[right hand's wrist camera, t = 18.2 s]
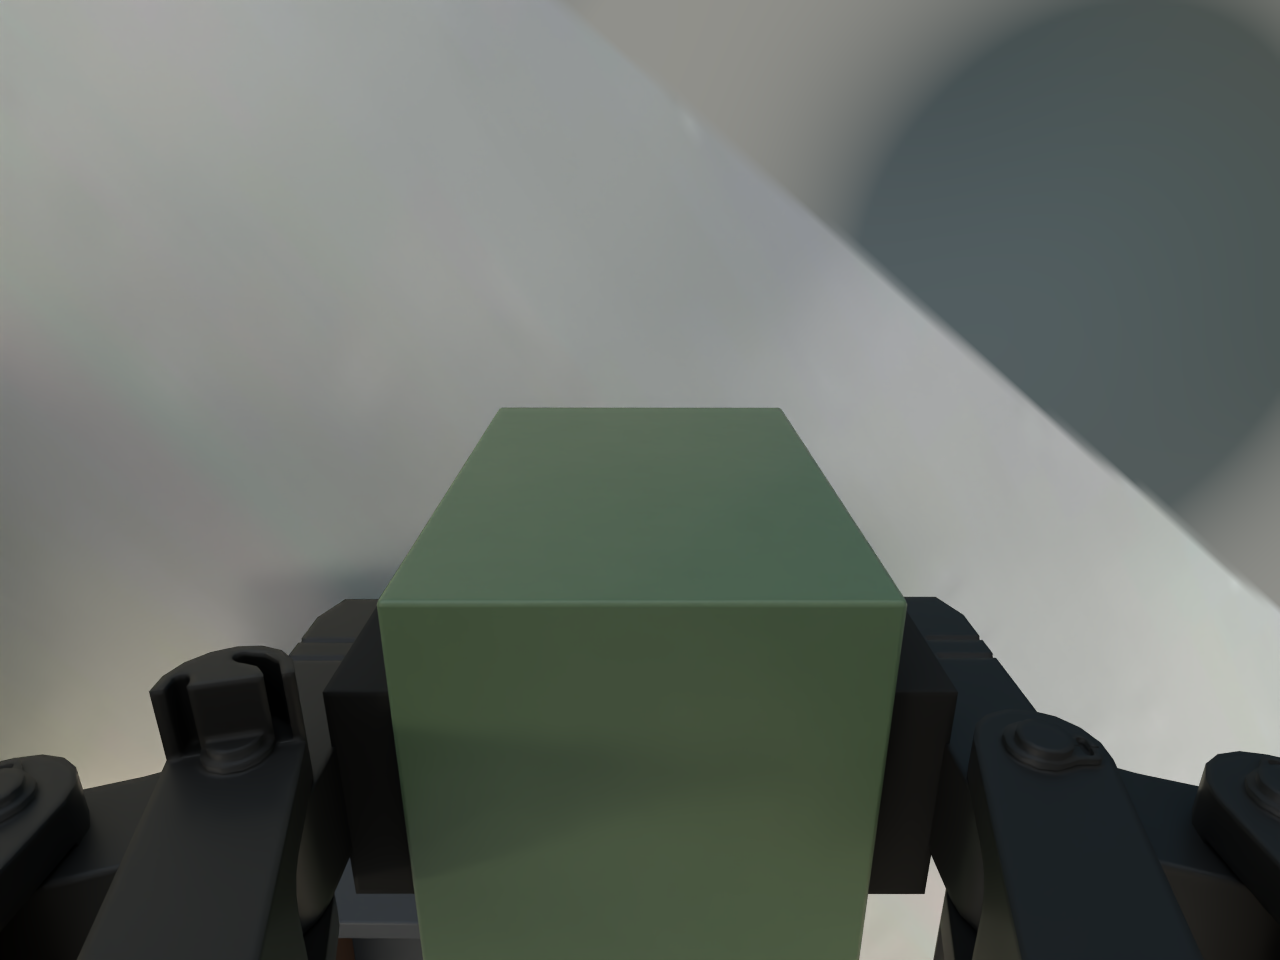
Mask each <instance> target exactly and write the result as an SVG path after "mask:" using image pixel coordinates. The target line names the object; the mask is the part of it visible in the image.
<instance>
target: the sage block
mask: <svg viewBox="0 0 1280 960" xmlns="http://www.w3.org/2000/svg"><path fill="white" fill-rule="evenodd" d="M377 610H378V618H379V625H380V633H381V641H382V648H383V656H384V664H385V671H386V679H387V687H388V694H389V702H390V710H391V717H392V725H393V733H394V740H395V748H396V755H397V763H398V771H399V778H400V786H401V794H402V801H403V809H404V817H405V824H406V832H407V840H408V847H409V855H410V863H411V870H412V878H413V886H414V893H415V901H416V909H417V916H418V924H419V932H420V939H421V947H422V955H423V960H859V956H860V949H861V941H862V934H863V927H864V919H865V912H866V905H867V897H868V890H869V882H870V875H871V868H872V860H873V853H874V846H875V838H876V831H877V824H878V816H879V809H880V802H881V794H882V787H883V779H884V772H885V765H886V757H887V750H888V743H889V735H890V728H891V721H892V713H893V706H894V698H895V691H896V684H897V676H898V669H899V662H900V654H901V647H902V640H903V632H904V625H905V618H906V610H907V603H906V600H905V598H904V597H903V595H902V594H901V592H900V591H899V589H898V588H897V586H896V585H895V583H894V582H893V580H892V578H891V577H890V575H889V574H888V572H887V571H886V569H885V568H884V566H883V565H882V563H881V562H880V560H879V559H878V557H877V555H876V554H875V552H874V551H873V549H872V548H871V546H870V545H869V543H868V542H867V540H866V539H865V537H864V535H863V534H862V532H861V531H860V529H859V528H858V526H857V525H856V523H855V522H854V520H853V519H852V517H851V516H850V514H849V512H848V511H847V509H846V508H845V506H844V505H843V503H842V502H841V500H840V499H839V497H838V496H837V494H836V493H835V491H834V489H833V488H832V486H831V485H830V483H829V482H828V480H827V479H826V477H825V476H824V474H823V473H822V471H821V470H820V468H819V466H818V465H817V463H816V462H815V460H814V459H813V457H812V456H811V454H810V453H809V451H808V450H807V448H806V447H805V445H804V443H803V442H802V440H801V439H800V437H799V436H798V434H797V433H796V431H795V430H794V428H793V427H792V425H791V423H790V422H789V420H788V419H787V417H786V416H785V414H784V413H783V411H782V410H781V409H780V408H500V409H499V410H498V412H497V414H496V415H495V417H494V418H493V420H492V422H491V423H490V425H489V426H488V428H487V429H486V431H485V433H484V434H483V436H482V437H481V439H480V440H479V442H478V444H477V445H476V447H475V448H474V450H473V452H472V453H471V455H470V456H469V458H468V459H467V461H466V463H465V464H464V466H463V467H462V469H461V470H460V472H459V474H458V475H457V477H456V478H455V480H454V482H453V483H452V485H451V486H450V488H449V489H448V491H447V493H446V494H445V496H444V497H443V499H442V500H441V502H440V504H439V505H438V507H437V508H436V510H435V512H434V513H433V515H432V516H431V518H430V519H429V521H428V523H427V524H426V526H425V527H424V529H423V530H422V532H421V534H420V535H419V537H418V538H417V540H416V542H415V543H414V545H413V546H412V548H411V549H410V551H409V553H408V554H407V556H406V557H405V559H404V560H403V562H402V564H401V565H400V567H399V568H398V570H397V571H396V573H395V575H394V576H393V578H392V579H391V581H390V583H389V584H388V586H387V587H386V589H385V590H384V592H383V594H382V595H381V597H380V598H379V600H378V603H377Z"/></svg>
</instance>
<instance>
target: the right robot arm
mask: <svg viewBox="0 0 1280 960" xmlns="http://www.w3.org/2000/svg"><path fill="white" fill-rule="evenodd" d="M904 598H905V600H906V603H907V610H906V618H905V625H904V632H903V640H902V647H901V654H900V662H899V669H898V676H897V684H896V691H895V698H894V706H893V713H892V721H891V728H890V735H889V743H888V750H887V757H886V765H885V772H884V779H883V787H882V794H881V802H880V809H879V816H878V824H877V831H876V838H875V846H874V853H873V860H872V868H871V875H870V882H869V890H868V894H925V888H926V882H927V876H928V870H929V864H930V858H931V855H932V858H933V860H934V862H935V864H936V867H937V869H938V871H939V874H940V876H941V878H942V880H943V883H944V885H945V887H946V892H945V898H944V903H943V909H942V914H941V920H940V925H939V931H938V937H937V942H936V948H935V953H934V959H933V960H1280V757H1275V756H1271V755H1266V754H1258V753H1250V752H1242V751H1237V752H1230V753H1223V754H1217V755H1216V756H1215V757H1214V758H1212V759H1211V760H1210V761H1209V762H1207V763H1206V765H1205V768H1204V771H1203V775H1202V778H1201V781H1200V784H1199V786H1194V785H1190V784H1185V783H1180V782H1175V781H1171V780H1166V779H1161V778H1156V777H1151V776H1147V775H1142V774H1137V773H1133V772H1130V771H1126V770H1122V769H1119V768H1117V766H1116V764H1115V762H1114V760H1113V758H1112V757H1111V756H1110V754H1109V753H1108V752H1107V750H1106V749H1105V748H1104V746H1103V745H1102V744H1101V743H1100V742H1099V741H1098V740H1096V739H1095V738H1094V737H1092V736H1091V735H1090V734H1088V733H1087V732H1085V731H1084V730H1083V729H1081V728H1080V727H1078V726H1075V725H1073V724H1071V723H1069V722H1067V721H1064V720H1062V719H1060V718H1058V717H1056V716H1052V715H1047V714H1043V713H1039V712H1037V711H1036V710H1035V709H1034V707H1033V706H1032V705H1031V703H1030V702H1029V701H1028V699H1027V698H1026V697H1025V695H1024V694H1023V693H1022V691H1021V690H1020V689H1019V688H1018V686H1017V685H1016V684H1015V682H1014V681H1013V680H1012V678H1011V677H1010V676H1009V674H1008V673H1007V672H1006V670H1005V669H1004V668H1003V666H1002V665H1001V664H1000V663H999V661H998V660H997V659H996V658H993V653H992V652H991V651H990V649H989V648H988V647H987V645H986V644H985V643H984V641H983V640H980V639H979V635H978V634H977V632H976V631H975V630H974V628H973V627H972V626H971V624H970V623H969V622H968V620H967V619H966V618H965V616H964V615H963V614H961V613H960V612H958V611H956V610H955V609H953V608H952V607H950V606H949V605H947V604H946V603H944V602H943V601H941V600H939V599H938V598H936V597H904ZM378 600H379V599H345V600H344V601H342V602H341V603H339V604H338V605H336V606H334V607H333V608H331V609H330V610H328V611H327V612H325V613H324V614H322V615H321V616H319V617H318V618H317V619H316V620H315V622H314V623H313V624H312V626H311V627H310V628H309V630H308V631H307V632H306V633H305V635H304V636H303V637H302V642H301V643H298V644H297V645H296V647H295V648H294V649H293V651H292V652H291V653H290V655H289V656H288V655H287V654H286V653H284V652H283V651H282V650H279V649H274V648H270V647H265V646H238V647H233V648H228V649H223V650H219V651H214V652H210V653H207V654H205V655H202V656H200V657H197V658H195V659H192V660H190V661H187V662H184V663H183V664H181V665H180V666H178V667H176V668H175V669H173V670H172V671H170V672H169V673H167V674H165V675H164V676H162V678H161V679H160V680H159V681H158V682H157V683H156V684H155V685H154V687H153V688H152V689H151V690H150V691H149V693H150V697H151V701H152V705H153V709H154V713H155V717H156V720H157V724H158V728H159V732H160V736H161V740H162V744H163V748H164V751H165V755H166V759H167V761H166V763H165V766H164V768H163V770H162V772H160V773H156V774H152V775H149V776H145V777H141V778H136V779H131V780H126V781H122V782H117V783H112V784H107V785H103V786H98V787H93V788H88V789H84V790H83V789H82V785H81V782H80V779H79V776H78V772H77V769H76V767H75V766H74V765H73V764H71V763H70V762H69V761H68V760H66V759H65V758H63V757H56V756H49V755H35V756H27V757H19V758H13V759H9V760H4V761H0V960H336V953H337V945H338V936H339V928H340V923H339V916H338V909H337V903H336V898H335V890H336V888H337V886H338V883H339V881H340V879H341V877H342V874H343V872H344V870H345V867H346V865H347V863H348V860H349V858H350V861H351V867H352V873H353V879H354V885H355V891H356V894H415V893H414V886H413V878H412V870H411V863H410V855H409V847H408V840H407V832H406V824H405V817H404V809H403V801H402V794H401V786H400V778H399V771H398V763H397V755H396V748H395V740H394V733H393V725H392V717H391V710H390V702H389V694H388V687H387V679H386V671H385V664H384V656H383V648H382V641H381V633H380V625H379V618H378V610H377V603H378Z"/></svg>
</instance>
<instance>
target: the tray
mask: <svg viewBox="0 0 1280 960" xmlns="http://www.w3.org/2000/svg"><path fill="white" fill-rule="evenodd" d="M335 898H336V903H337V909H338V916H339V923H340V928H339V936H338V938H352V941H353V948H354V955H355V960H423V955H422V947H421V939H420V932H419V924H418V916H417V909H416V901H415V894H356V891H355V885H354V879H353V873H352V867H351V861H350V858H349V860H348V863H347V865H346V867H345V870H344V872H343V874H342V877H341V879H340V881H339V883H338V886H337V888H336V890H335Z"/></svg>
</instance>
